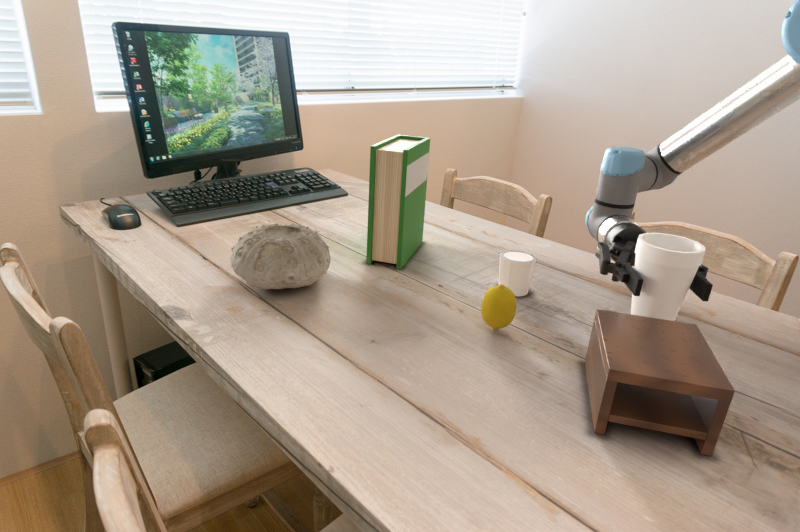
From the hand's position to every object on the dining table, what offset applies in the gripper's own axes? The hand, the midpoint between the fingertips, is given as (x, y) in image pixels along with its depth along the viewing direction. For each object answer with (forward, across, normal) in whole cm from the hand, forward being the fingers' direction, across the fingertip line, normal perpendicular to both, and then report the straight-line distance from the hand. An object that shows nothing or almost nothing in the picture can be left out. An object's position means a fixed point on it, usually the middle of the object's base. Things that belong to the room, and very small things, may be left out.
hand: (673, 290), depth 78 cm
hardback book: (-35, +44, -10) cm, 57 cm away
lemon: (-3, +25, -11) cm, 27 cm away
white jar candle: (-19, +20, -10) cm, 29 cm away
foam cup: (-4, 0, -7) cm, 8 cm away
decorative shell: (-15, +63, -10) cm, 66 cm away
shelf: (+14, +8, -10) cm, 19 cm away
